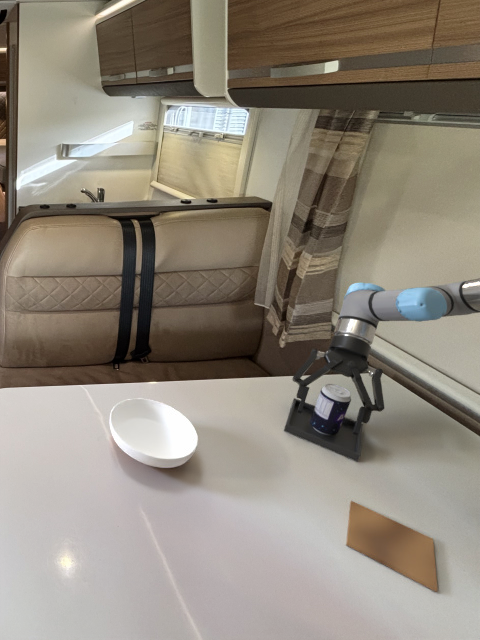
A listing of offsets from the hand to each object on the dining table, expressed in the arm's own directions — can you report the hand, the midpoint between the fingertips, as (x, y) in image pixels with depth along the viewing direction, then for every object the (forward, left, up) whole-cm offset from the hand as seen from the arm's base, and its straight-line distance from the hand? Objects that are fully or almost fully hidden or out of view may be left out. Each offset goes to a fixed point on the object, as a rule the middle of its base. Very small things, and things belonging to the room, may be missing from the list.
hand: (326, 422), depth 103 cm
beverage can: (0, -3, -4) cm, 5 cm away
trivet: (-13, +24, -5) cm, 27 cm away
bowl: (+30, +31, -5) cm, 44 cm away
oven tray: (0, -3, -5) cm, 6 cm away
